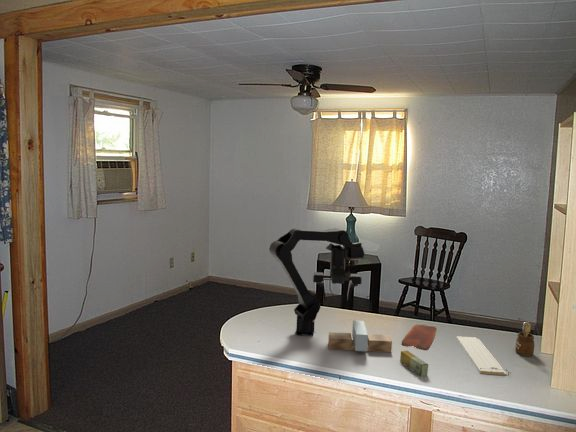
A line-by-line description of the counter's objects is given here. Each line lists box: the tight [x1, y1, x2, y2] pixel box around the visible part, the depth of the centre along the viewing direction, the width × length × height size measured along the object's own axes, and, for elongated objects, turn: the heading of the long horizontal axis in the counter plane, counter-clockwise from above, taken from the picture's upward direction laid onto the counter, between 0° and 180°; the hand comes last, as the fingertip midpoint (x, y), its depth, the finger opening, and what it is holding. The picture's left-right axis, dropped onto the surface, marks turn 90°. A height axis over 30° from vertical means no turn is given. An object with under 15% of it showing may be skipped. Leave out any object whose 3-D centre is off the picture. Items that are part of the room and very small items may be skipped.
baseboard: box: [455, 335, 512, 376], centre depth 166 cm, size 30×3×10 cm
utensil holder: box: [514, 321, 535, 357], centre depth 168 cm, size 6×6×12 cm
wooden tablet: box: [401, 324, 437, 351], centre depth 182 cm, size 27×10×2 cm, turn 153°
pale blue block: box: [351, 319, 369, 352], centre depth 169 cm, size 14×4×6 cm, turn 177°
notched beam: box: [327, 331, 393, 353], centre depth 169 cm, size 22×6×4 cm, turn 87°
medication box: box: [399, 350, 429, 378], centre depth 153 cm, size 12×3×4 cm, turn 20°
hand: (336, 299), depth 186 cm, fingers open, 9 cm apart
